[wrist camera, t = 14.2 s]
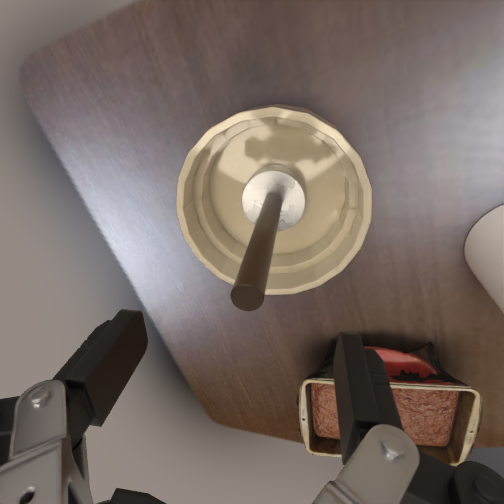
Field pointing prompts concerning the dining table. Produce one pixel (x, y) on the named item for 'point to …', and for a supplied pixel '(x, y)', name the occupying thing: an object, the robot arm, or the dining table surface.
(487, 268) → the white cup
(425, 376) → the baking dish
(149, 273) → the dining table surface
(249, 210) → the rod with silver disc
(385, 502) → the robot arm
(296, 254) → the bowl
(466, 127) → the dining table surface
